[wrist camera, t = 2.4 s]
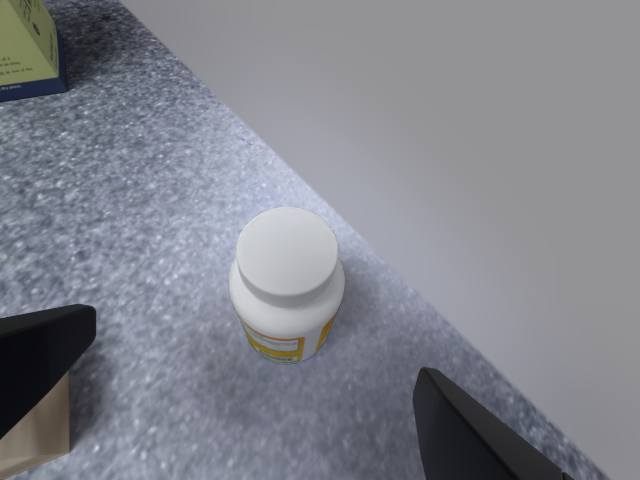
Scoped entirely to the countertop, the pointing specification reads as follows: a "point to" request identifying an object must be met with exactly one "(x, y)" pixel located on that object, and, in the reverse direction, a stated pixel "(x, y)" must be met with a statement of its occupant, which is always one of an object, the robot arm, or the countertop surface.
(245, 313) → the supplement bottle
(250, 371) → the countertop surface
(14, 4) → the protein box
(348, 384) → the countertop surface
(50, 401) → the maple block
